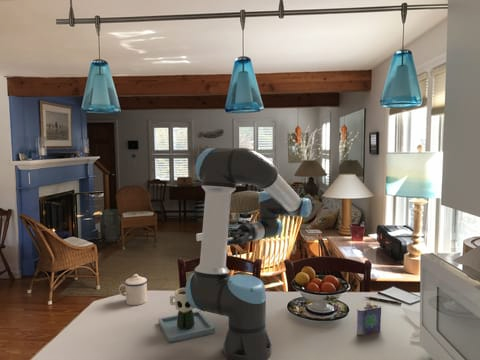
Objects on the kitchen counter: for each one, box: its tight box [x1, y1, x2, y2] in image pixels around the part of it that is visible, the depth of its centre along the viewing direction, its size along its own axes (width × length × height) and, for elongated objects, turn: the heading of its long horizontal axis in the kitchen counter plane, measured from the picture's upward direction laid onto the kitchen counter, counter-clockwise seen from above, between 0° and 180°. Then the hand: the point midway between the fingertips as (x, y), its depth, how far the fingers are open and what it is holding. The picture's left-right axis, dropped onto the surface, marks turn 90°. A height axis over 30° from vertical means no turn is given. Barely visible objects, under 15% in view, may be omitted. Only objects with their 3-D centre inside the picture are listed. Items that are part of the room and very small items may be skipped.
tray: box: [158, 310, 216, 344], centre depth 140 cm, size 16×16×2 cm
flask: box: [356, 301, 382, 336], centre depth 135 cm, size 9×3×11 cm, turn 109°
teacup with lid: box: [118, 273, 148, 306], centre depth 164 cm, size 12×9×12 cm
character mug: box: [169, 287, 195, 329], centre depth 139 cm, size 11×7×13 cm, turn 89°
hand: (206, 240), depth 144 cm, fingers open, 13 cm apart
